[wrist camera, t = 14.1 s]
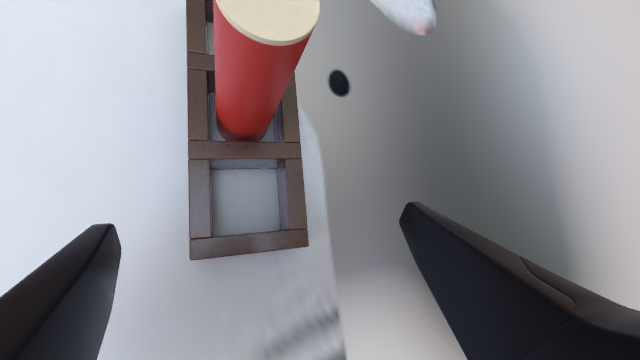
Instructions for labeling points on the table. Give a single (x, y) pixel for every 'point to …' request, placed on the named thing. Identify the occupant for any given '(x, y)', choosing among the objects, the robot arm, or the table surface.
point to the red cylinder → (256, 60)
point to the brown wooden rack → (237, 156)
